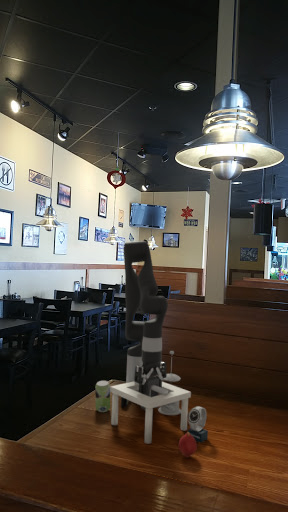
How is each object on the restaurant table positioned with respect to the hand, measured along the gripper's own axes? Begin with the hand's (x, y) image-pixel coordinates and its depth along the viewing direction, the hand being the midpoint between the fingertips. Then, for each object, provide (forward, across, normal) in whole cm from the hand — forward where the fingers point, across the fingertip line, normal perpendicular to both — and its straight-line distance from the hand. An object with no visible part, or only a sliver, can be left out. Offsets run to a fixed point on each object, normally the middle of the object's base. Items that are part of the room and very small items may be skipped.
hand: (150, 391), depth 151 cm
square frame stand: (+13, 0, 0) cm, 13 cm away
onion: (+13, +6, +25) cm, 29 cm away
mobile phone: (+14, -10, -26) cm, 31 cm away
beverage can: (+13, +5, -23) cm, 27 cm away
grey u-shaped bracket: (+6, 0, 0) cm, 6 cm away
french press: (+13, -18, -8) cm, 24 cm away
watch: (+13, -7, +18) cm, 23 cm away
